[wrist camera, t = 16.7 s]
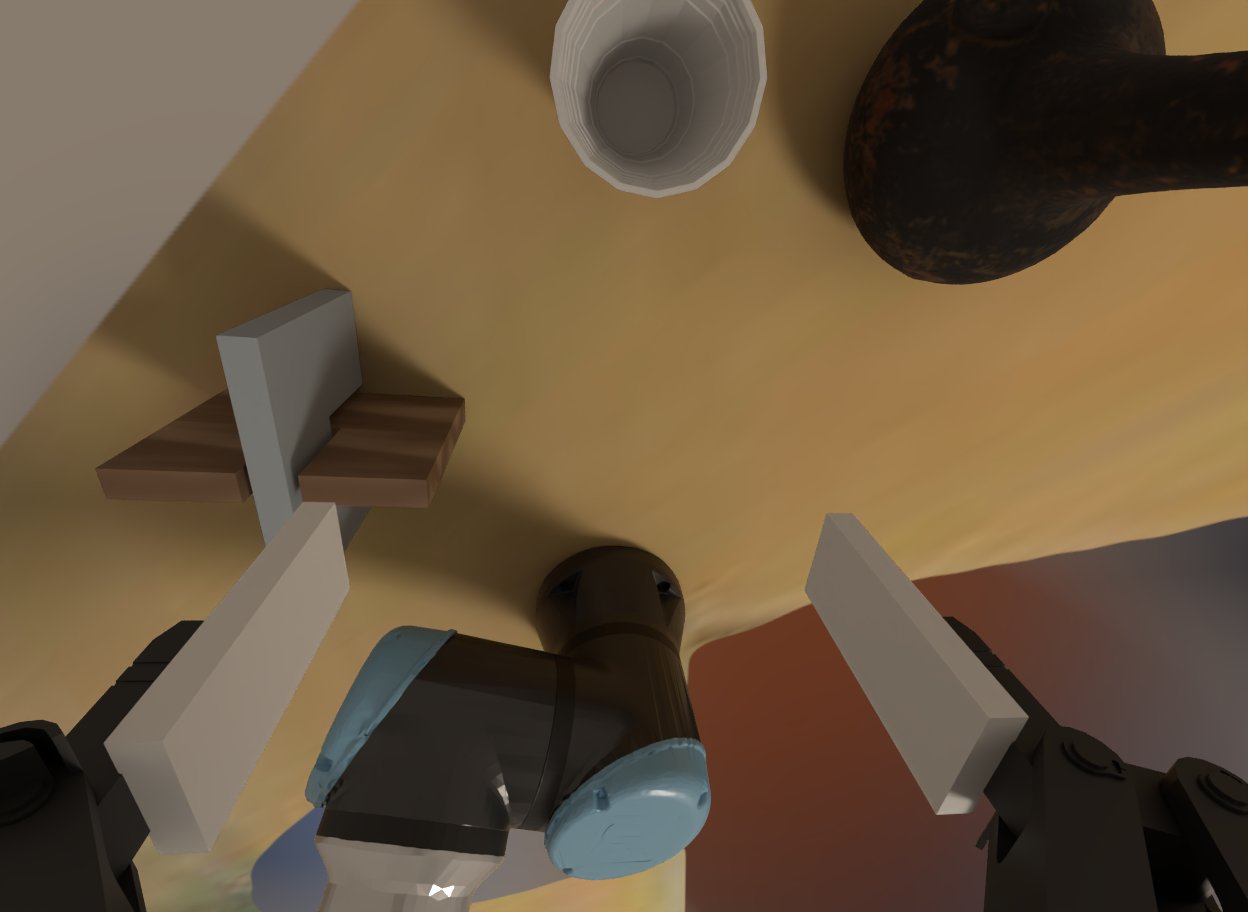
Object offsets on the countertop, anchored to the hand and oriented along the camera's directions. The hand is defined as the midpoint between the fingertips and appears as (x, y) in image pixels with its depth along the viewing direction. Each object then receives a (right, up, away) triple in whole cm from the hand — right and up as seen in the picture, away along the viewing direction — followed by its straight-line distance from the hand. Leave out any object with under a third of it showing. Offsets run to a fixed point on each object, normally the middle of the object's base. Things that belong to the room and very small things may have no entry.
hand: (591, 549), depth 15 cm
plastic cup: (+2, +27, +23) cm, 35 cm away
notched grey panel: (-21, +7, +30) cm, 37 cm away
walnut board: (-21, +7, +30) cm, 37 cm away
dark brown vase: (+23, +26, +25) cm, 43 cm away
